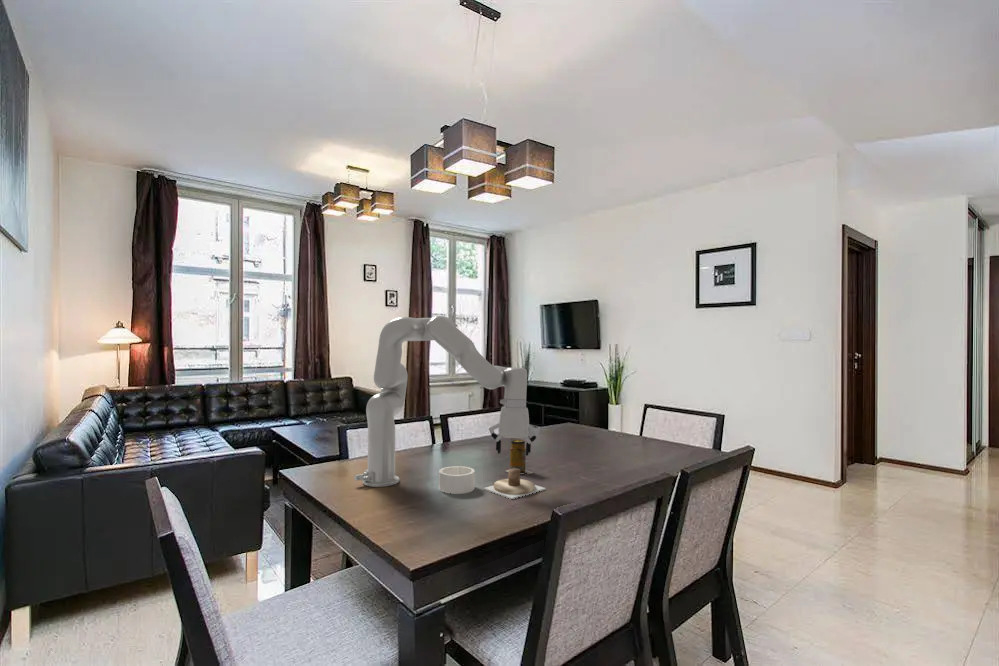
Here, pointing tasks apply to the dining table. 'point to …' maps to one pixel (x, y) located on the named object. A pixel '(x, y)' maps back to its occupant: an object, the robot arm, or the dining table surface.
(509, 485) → the lid
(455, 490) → the bowl
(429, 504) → the dining table surface
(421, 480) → the dining table surface
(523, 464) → the condiment
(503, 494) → the mat
